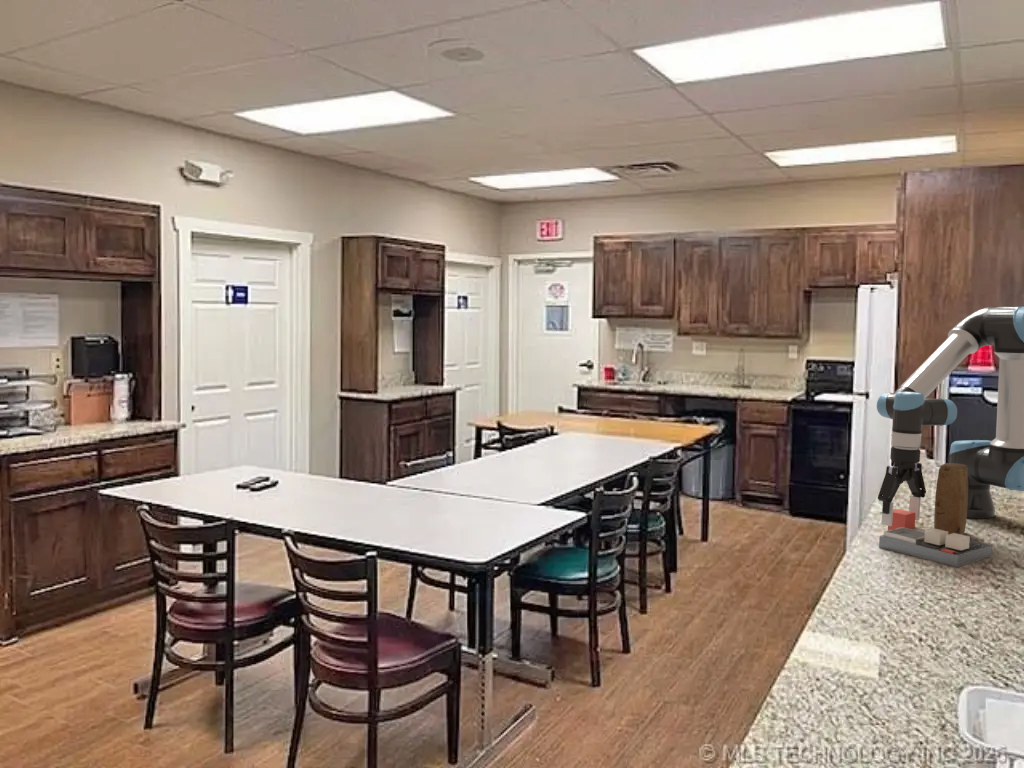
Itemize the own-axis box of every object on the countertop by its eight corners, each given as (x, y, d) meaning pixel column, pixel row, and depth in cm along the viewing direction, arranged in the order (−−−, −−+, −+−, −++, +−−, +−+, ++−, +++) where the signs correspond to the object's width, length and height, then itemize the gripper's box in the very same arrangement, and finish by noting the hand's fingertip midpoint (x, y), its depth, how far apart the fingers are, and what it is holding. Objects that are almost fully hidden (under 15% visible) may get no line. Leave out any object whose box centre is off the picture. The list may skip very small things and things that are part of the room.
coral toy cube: (897, 533, 243) (898, 509, 242) (914, 537, 239) (915, 512, 238) (887, 535, 240) (888, 511, 239) (904, 539, 236) (905, 514, 235)
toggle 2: (953, 544, 219) (954, 532, 218) (969, 548, 215) (969, 536, 215) (945, 546, 216) (945, 535, 216) (960, 550, 213) (961, 538, 213)
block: (960, 539, 236) (964, 468, 234) (931, 534, 241) (935, 465, 239) (968, 531, 245) (972, 463, 243) (940, 527, 249) (944, 460, 247)
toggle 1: (932, 539, 223) (933, 528, 223) (947, 543, 220) (948, 531, 220) (924, 541, 221) (924, 530, 221) (939, 545, 218) (940, 533, 217)
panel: (913, 537, 238) (914, 523, 237) (991, 556, 220) (992, 540, 220) (878, 547, 228) (879, 531, 228) (957, 567, 211) (958, 550, 210)
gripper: (917, 442, 247) (912, 514, 249) (867, 448, 233) (862, 524, 235) (942, 446, 241) (937, 519, 243) (893, 452, 227) (887, 530, 228)
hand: (900, 522), depth 239 cm, fingers open, 13 cm apart
